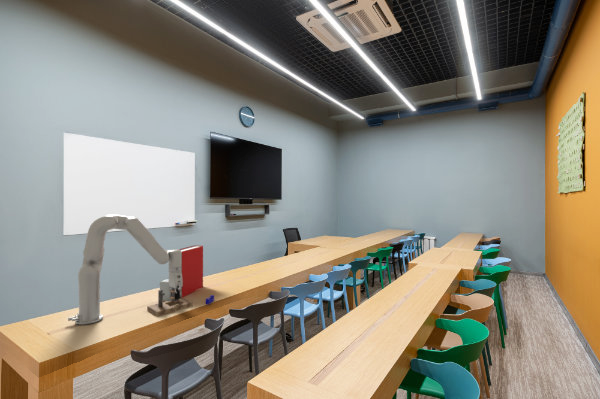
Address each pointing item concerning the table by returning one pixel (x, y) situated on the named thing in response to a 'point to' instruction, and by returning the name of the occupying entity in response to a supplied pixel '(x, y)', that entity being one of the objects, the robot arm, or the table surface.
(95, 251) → the robot arm
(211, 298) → the cable holder
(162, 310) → the brown base with post
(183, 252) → the book
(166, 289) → the supplement box
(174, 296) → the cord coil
